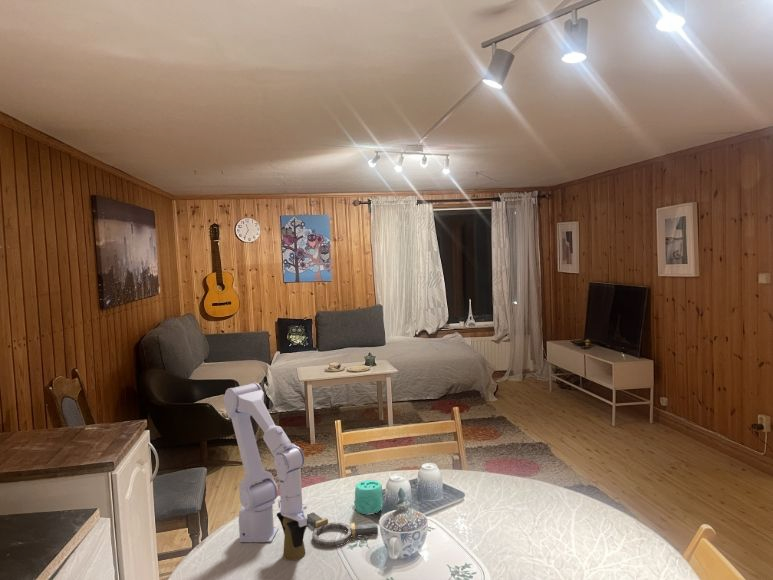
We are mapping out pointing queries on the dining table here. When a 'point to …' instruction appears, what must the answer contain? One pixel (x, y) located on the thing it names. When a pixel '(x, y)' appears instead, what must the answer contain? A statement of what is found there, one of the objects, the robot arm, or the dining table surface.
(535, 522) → the dining table surface
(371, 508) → the teal tapered cylinder
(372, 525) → the grey handled ring
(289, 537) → the olive tapered pawn
